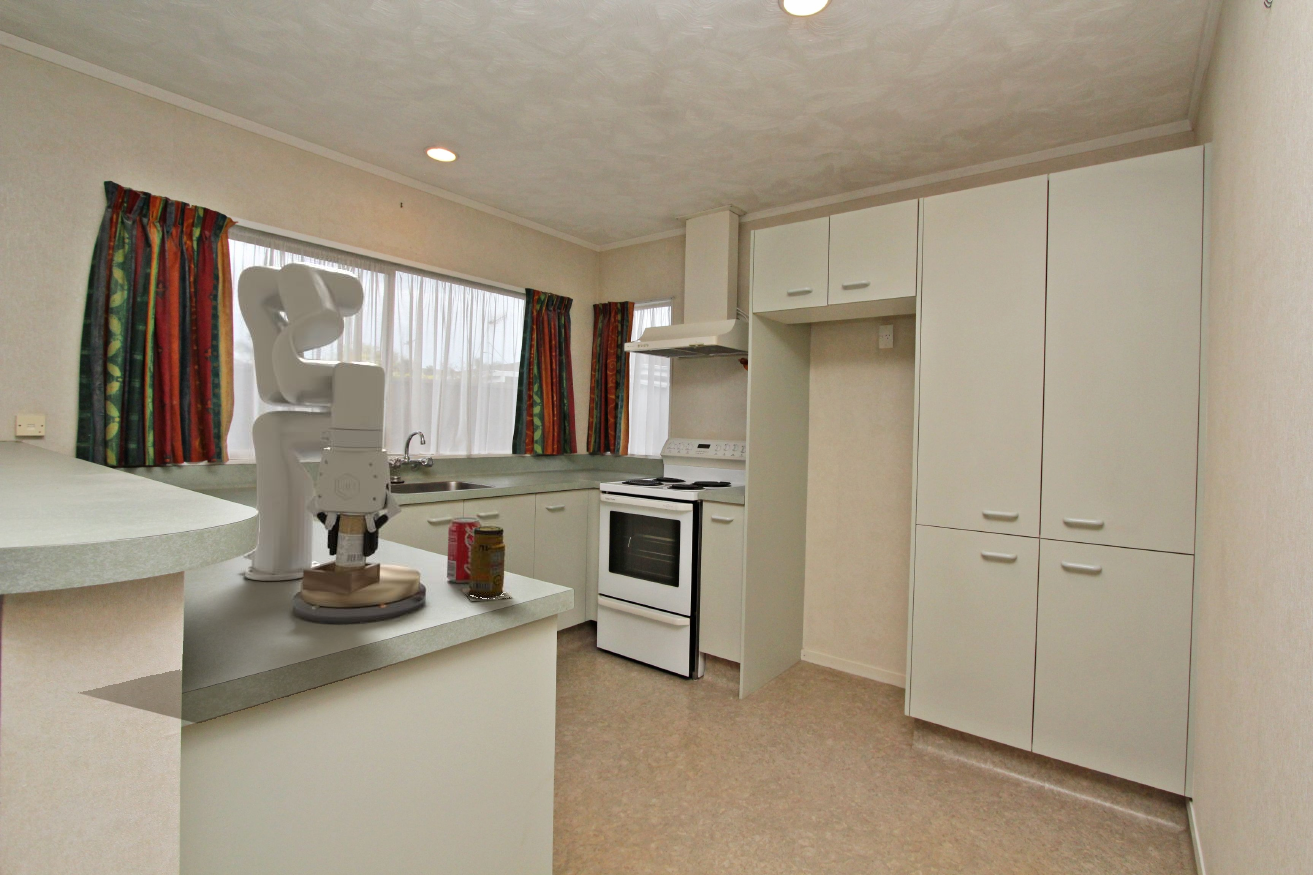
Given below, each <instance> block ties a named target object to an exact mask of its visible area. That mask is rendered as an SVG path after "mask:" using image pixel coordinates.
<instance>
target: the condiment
mask: <svg viewBox="0 0 1313 875" xmlns="http://www.w3.org/2000/svg"><path fill="white" fill-rule="evenodd" d="M504 532H505V531H504V529H503V528H502V527H500V526H494V525H485V526H483V525H481V527H477V528H475V529H474V537H473V539H474V541H473V543H472V544H471V562H470V582H469V587H466V588H465V587H464V588H461V590H462V592H463V593H464V595H466V597H467V598H468V599H469V600H470V601H471V602H482V601H485V602H486V601H487V600H488V601H497V600H503V599H502V598H506V599H513V597H512V595H511V594H510V593H509V592H508V591H506V590H505V588H504V584H505V583H504V582H505V581H504V580H505V558H506V557H505V556H506V544H505V542H504V541H503V540H504ZM503 592H506V593H503ZM502 593H503V594H502ZM501 594H502V595H504V596H498V595H501ZM470 595H474V596H476V597H478V598H476V597H472V596H470ZM496 596H497V597H496ZM480 597H482V598H487V599H482V598H480ZM509 597H510V598H509ZM488 598H489V599H488ZM493 598H495V599H493Z"/></svg>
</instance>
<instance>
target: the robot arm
mask: <svg viewBox="0 0 1313 875" xmlns="http://www.w3.org/2000/svg"><path fill="white" fill-rule="evenodd" d="M364 296H365V293H364V288H363V285H362V283H361V281H360V280H359V278H358V277H357V276H356V275H355V274H353V273H352V272H350V271H347V270H343V269H337V268H334V267H328V266H324V265H320V264H314V263H310V262H303V261H302V262H301V261H298V262H296V261H295V262H289V263H287V264H285V265H283V266H282V267H278V266H277V267H276V266H271V265H253V266H249V267H246V268H245V269H243V270H242V271H241V273H240V275H239V277H238V281H237V301H238V305H239V310H240V314H241V317H242V318H243V321H244V324H245V326H246V328H247V330H248V332H249V336H250V337H251V342H252V346H253V347H252V350H253V358H254V360H253V361H254V368H255V369H254V370H255V379H256V380H255V381H256V388H257V392H258V395H259V398H260V399H261V401H262V402H263V403H264V404H266V405H268V406H269V405H270V406H273V407H281V408H298V409H299V408H300V409H301V408H303V409H318V410H319V411H308V410H307V411H305V410H272V411H268V412H265V413H262V414H260V415H259V416H257V418H256V419H255V420H254V421H253V422H254V423H253V424H252V428H251V430H252V431H251V435H252V444H253V449H254V453H255V456H254V457H255V463H256V464H255V465H256V504H255V505H256V508H255V510H258V511H259V514H260V532H259V544H258V547H257V549H256V550H255V551H253V552H252V553H250V554H248V555H247V556H244V555H243V559H245V560H251V565H250V566H248V567H247V568H246V569H245V570H244V577H246V578H247V579H249V580H252V581H253V580H254V581H262V582H267V581H268V582H274V581H276V582H277V581H288V580H289V581H290V580H296V579H297V580H298V579H303V570H306V569H309V568H312V567H315V566H318V565H322V564H321V563H320V562H318V561H315V560H313V536H314V535H313V532H314V517H316V518H317V519H318V521H320V522H321V524H322V525H324V529H325V530H326V531H327V546H326V547H327V549H328V553H329V556H336V552H337V542H338V531H339V526H340V525H339V524H340V513H354V514H365V519H366V523H367V531H366V532H365V533H364V544H363V556H364V557H366V558H369V557H370V556H372V555H374V554H375V553H376V551H377V550H378V549H379V537H380V536H379V533H380V529H381V528H382V527H383V526H384V525H385V524H387V522H388V521H390V520H391V519H393V518H395V517H396V516H398V515H399V514H400V513H402V508H401V506H400V505H399V504H398V502H397V501H396V499H395V498H394V497H393V495H392V493H391V474H390V470H391V469H390V463H389V458H388V453H387V449H383V444H384V443H383V442H384V441H383V439H384V416H385V415H384V414H385V388H386V374H385V369H384V368H383V366H381V365H379V364H376V363H372V362H371V363H370V362H363V361H361V362H359V361H338V360H337V361H336V360H326V359H314V358H305V355H304V352H309V351H311V350H312V351H313V350H316V349H319V348H323V347H327V346H329V345H331V344H333V343H335V342H336V341H337V340H338V339H340V337H341V336H342V335H343V333H344V330H345V322H344V318H348V317H352V316H354V315H356V314H358V313H359V312H360V311H361V309H362V308H363V305H364V300H365V299H364V298H365V297H364ZM280 312H281V313H285V315H286V318H287V319H286V318H285V317H284V316H283V315H282V314H281V313H280ZM308 460H310V461H313V460H315V461H316V460H320V462H319V467H318V473H317V479H316V488H315V484H314V480H313V477H312V475H311V474H310V473H309V471H307V470H306V469H305V467H304V466H303V465H302V463H301V461H308ZM314 492H315V493H314ZM385 509H387V511H386V512H385V513H383V514H381V512H380V511H381V510H385Z"/></svg>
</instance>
